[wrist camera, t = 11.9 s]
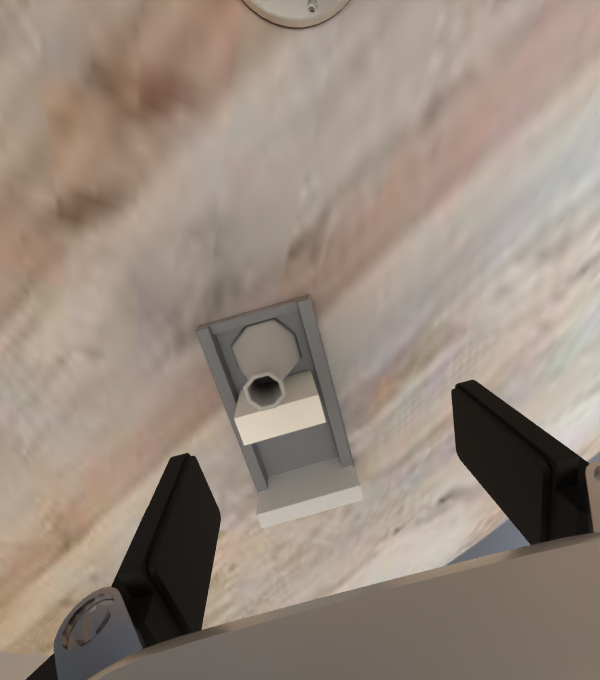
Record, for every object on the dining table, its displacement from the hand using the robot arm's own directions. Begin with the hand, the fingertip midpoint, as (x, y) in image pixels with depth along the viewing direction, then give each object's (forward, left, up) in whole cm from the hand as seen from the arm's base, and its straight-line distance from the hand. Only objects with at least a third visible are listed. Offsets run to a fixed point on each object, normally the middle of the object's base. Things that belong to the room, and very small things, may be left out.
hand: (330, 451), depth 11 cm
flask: (+3, -4, -23) cm, 23 cm away
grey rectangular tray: (+9, -4, -23) cm, 25 cm away
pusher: (+8, -4, -22) cm, 24 cm away
